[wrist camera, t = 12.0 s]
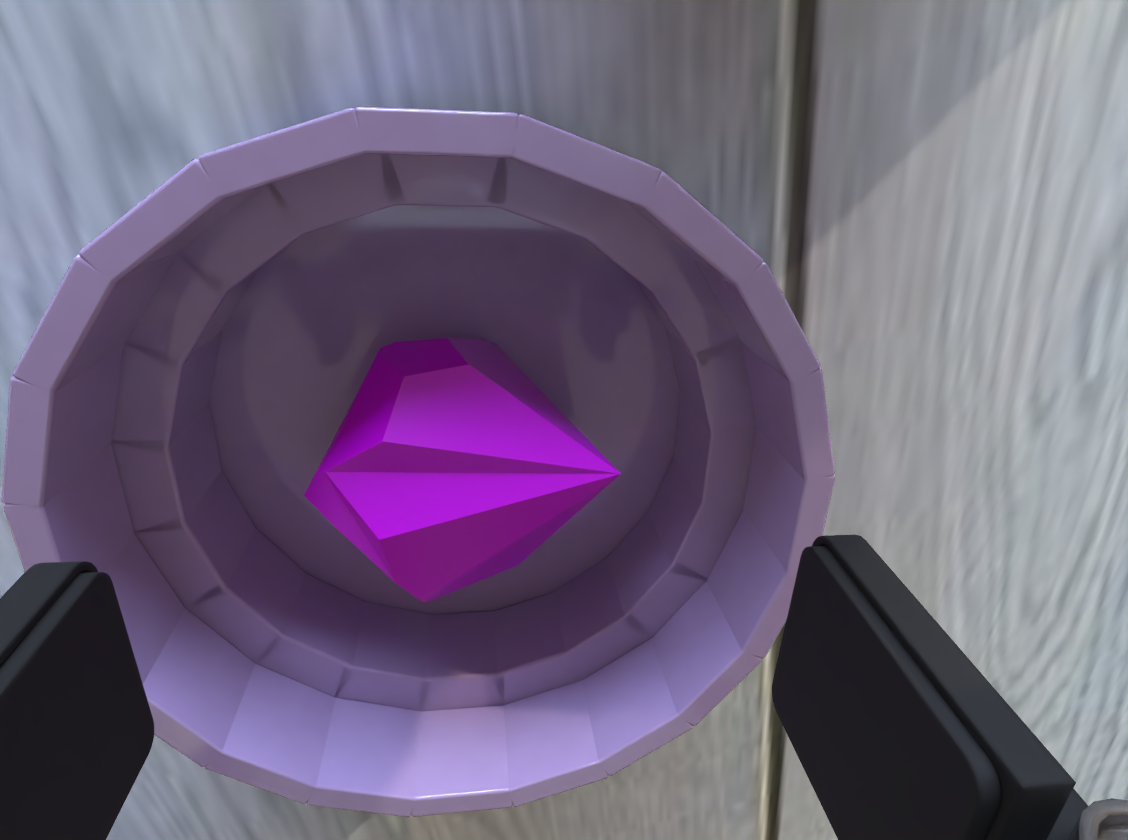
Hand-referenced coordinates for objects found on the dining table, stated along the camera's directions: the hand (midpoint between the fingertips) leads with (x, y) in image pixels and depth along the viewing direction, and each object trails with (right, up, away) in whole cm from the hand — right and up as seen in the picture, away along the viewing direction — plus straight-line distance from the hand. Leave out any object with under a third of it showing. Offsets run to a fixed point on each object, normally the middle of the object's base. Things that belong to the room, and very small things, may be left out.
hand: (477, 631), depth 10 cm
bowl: (-2, +3, +8) cm, 8 cm away
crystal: (-2, +3, +7) cm, 8 cm away
